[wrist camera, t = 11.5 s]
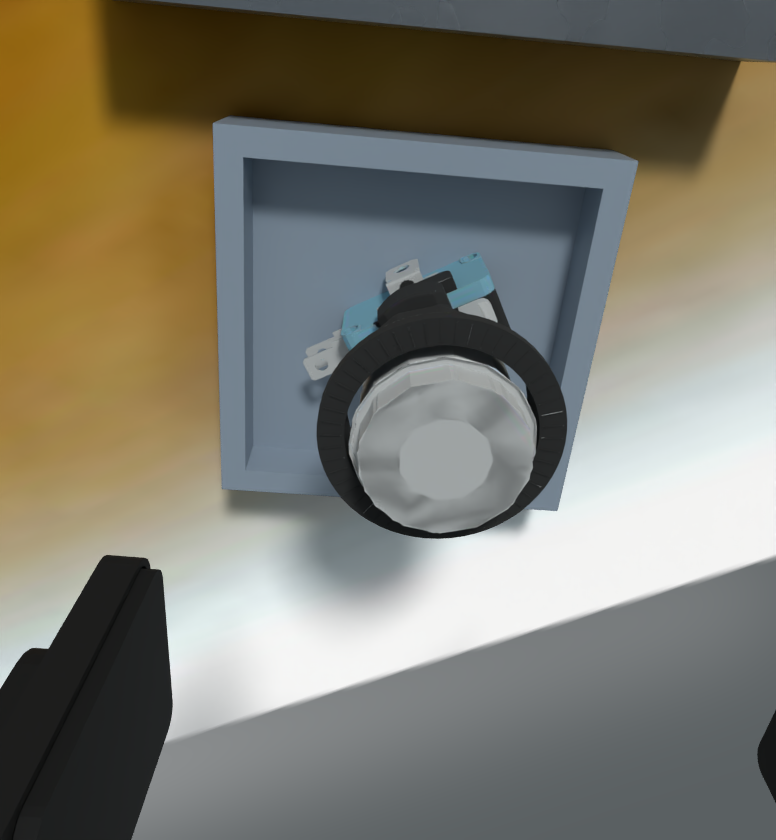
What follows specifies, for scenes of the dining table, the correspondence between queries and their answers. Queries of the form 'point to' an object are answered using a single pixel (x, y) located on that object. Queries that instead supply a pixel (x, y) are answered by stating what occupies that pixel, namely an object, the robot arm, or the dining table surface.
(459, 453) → the push button
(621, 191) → the tray
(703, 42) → the block
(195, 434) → the dining table surface
